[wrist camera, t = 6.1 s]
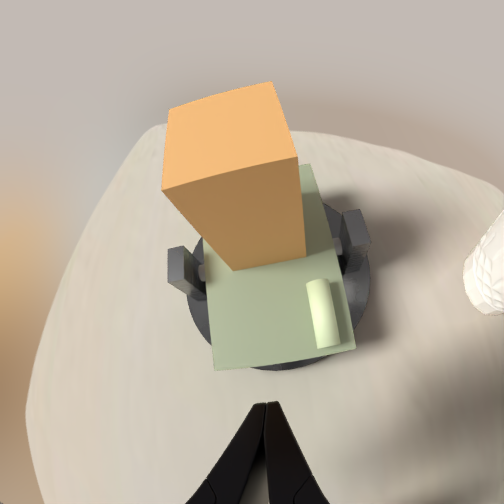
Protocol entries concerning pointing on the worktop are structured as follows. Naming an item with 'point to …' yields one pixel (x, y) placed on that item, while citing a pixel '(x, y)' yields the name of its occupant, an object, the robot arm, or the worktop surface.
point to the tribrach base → (350, 262)
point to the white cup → (487, 271)
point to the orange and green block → (256, 231)
